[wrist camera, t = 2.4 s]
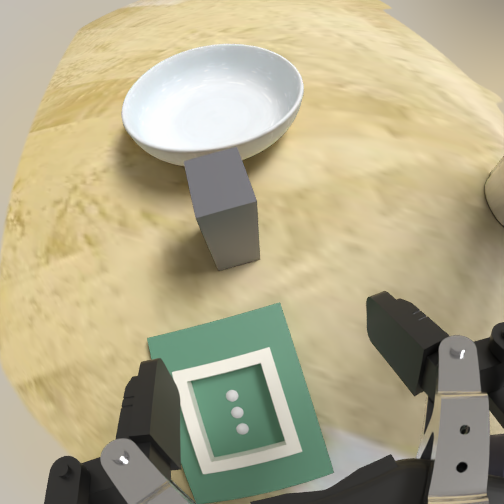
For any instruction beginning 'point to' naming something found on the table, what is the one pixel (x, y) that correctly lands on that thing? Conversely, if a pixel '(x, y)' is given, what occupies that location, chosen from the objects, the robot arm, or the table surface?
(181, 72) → the serving bowl
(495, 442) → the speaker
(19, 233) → the table surface
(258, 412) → the board
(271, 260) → the table surface
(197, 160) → the gray rectangular block
